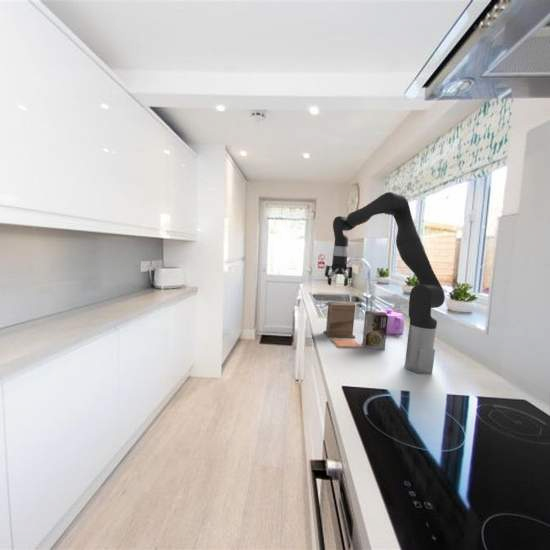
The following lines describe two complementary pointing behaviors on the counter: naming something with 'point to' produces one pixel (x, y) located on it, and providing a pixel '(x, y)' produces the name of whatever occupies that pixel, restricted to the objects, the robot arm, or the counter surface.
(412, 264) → the robot arm
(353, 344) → the terracotta pad
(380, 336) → the coffee box
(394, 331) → the teakettle
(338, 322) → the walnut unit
